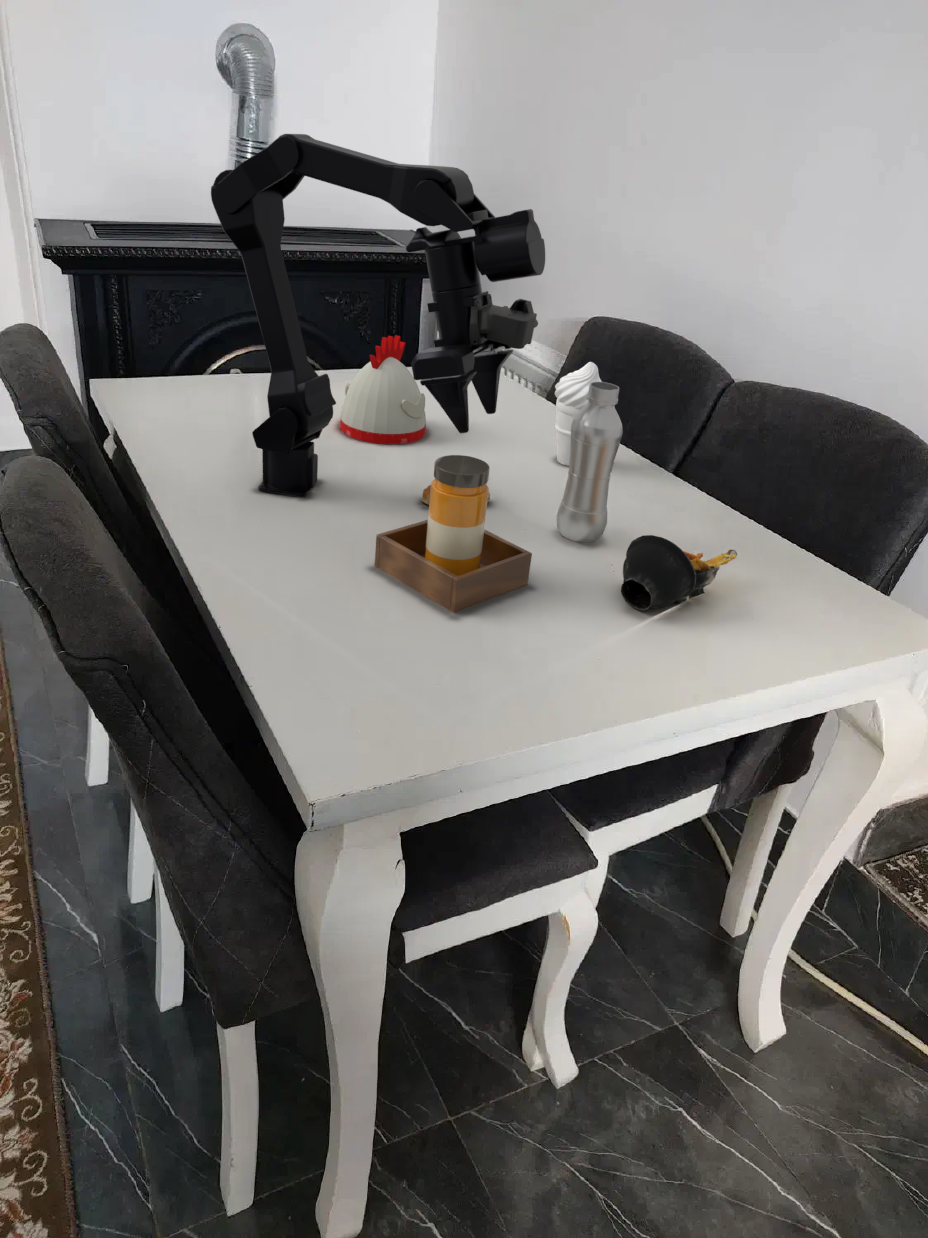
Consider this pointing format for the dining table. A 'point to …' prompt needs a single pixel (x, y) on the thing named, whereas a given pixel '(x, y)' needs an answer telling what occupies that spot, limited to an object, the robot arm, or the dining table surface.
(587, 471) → the silver metal bottle
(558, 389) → the ice cream cone
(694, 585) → the fried shrimp in bowl
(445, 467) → the jar
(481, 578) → the wooden box
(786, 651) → the dining table surface
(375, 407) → the kitchen timer
